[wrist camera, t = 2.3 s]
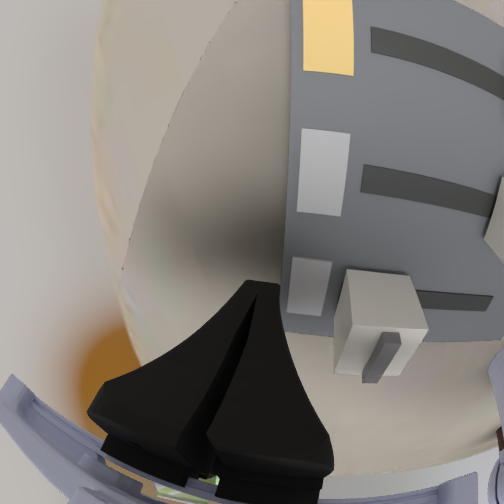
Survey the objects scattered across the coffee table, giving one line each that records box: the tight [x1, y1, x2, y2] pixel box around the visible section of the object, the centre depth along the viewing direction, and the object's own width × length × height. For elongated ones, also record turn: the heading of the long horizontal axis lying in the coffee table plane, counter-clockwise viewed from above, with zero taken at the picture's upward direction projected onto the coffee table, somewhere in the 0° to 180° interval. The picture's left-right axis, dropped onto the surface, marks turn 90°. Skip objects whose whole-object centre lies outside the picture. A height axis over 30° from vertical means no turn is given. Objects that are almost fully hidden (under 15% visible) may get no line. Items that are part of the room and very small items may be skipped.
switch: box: [333, 269, 429, 383], centre depth 9 cm, size 3×3×4 cm
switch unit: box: [280, 0, 504, 342], centre depth 8 cm, size 15×16×2 cm
